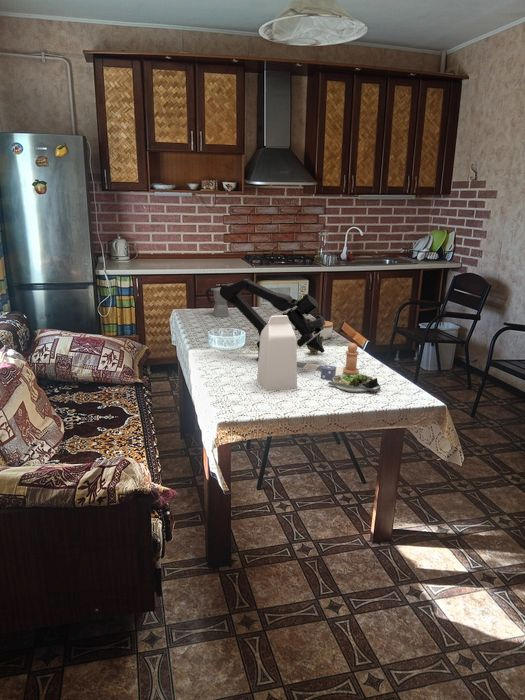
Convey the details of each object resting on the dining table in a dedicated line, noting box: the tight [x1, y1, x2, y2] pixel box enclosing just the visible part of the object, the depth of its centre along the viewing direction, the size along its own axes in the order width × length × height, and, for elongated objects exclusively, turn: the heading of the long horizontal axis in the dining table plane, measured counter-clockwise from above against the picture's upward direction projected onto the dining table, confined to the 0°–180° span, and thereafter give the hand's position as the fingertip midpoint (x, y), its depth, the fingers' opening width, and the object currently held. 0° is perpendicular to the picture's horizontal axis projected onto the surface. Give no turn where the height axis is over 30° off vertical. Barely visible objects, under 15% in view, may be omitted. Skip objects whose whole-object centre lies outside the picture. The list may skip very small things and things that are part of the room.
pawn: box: [342, 342, 359, 375], centre depth 213 cm, size 6×6×12 cm
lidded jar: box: [318, 320, 334, 340], centre depth 263 cm, size 11×11×9 cm
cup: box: [306, 336, 324, 356], centre depth 238 cm, size 8×7×8 cm
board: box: [297, 361, 360, 375], centre depth 219 cm, size 28×7×1 cm, turn 68°
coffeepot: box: [204, 283, 230, 318], centre depth 302 cm, size 15×9×18 cm, turn 103°
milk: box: [256, 314, 298, 391], centre depth 197 cm, size 12×12×26 cm
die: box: [320, 364, 337, 381], centre depth 208 cm, size 4×5×5 cm
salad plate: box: [327, 373, 381, 393], centre depth 201 cm, size 19×18×5 cm
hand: (323, 351), depth 217 cm, fingers closed
